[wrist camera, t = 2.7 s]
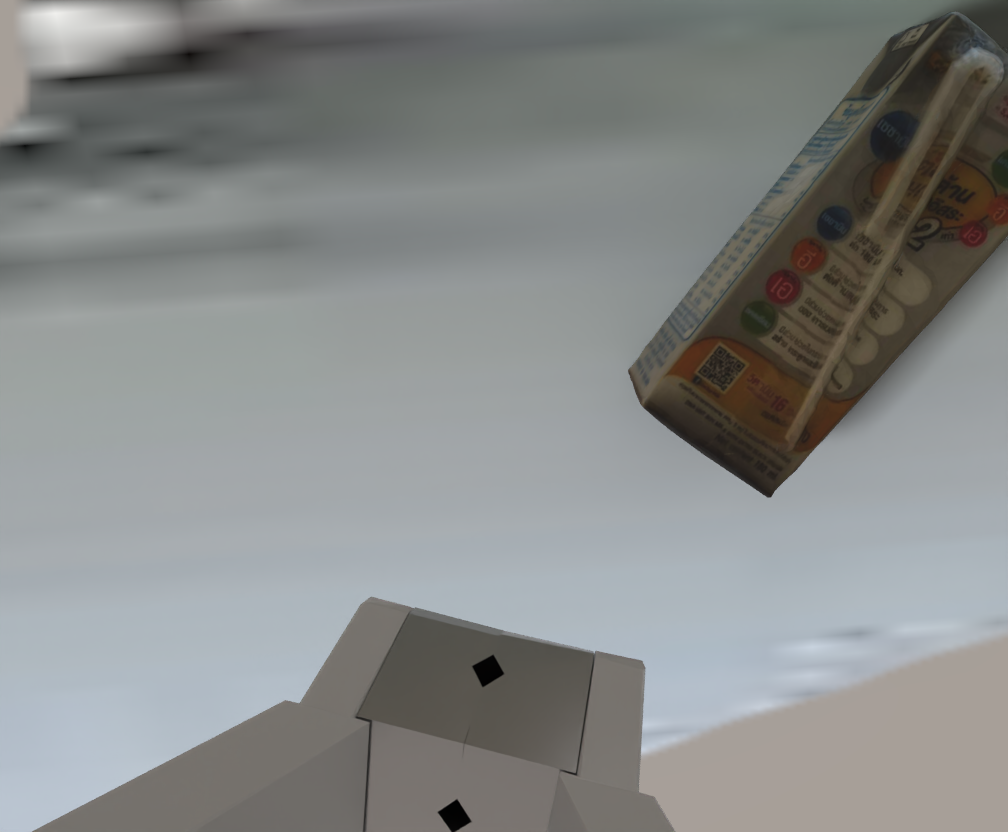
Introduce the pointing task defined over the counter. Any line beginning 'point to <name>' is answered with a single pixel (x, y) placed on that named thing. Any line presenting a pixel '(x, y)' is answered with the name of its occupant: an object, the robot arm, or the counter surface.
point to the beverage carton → (841, 258)
